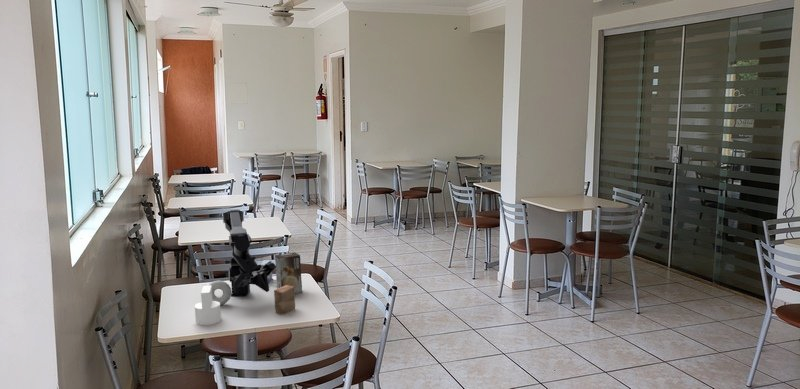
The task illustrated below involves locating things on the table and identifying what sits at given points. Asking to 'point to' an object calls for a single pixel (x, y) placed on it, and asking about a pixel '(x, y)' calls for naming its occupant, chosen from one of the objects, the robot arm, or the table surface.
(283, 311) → the walnut block
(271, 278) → the medicine box
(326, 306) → the table surface
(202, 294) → the base with upright slab
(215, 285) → the donut
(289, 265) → the coffee box
